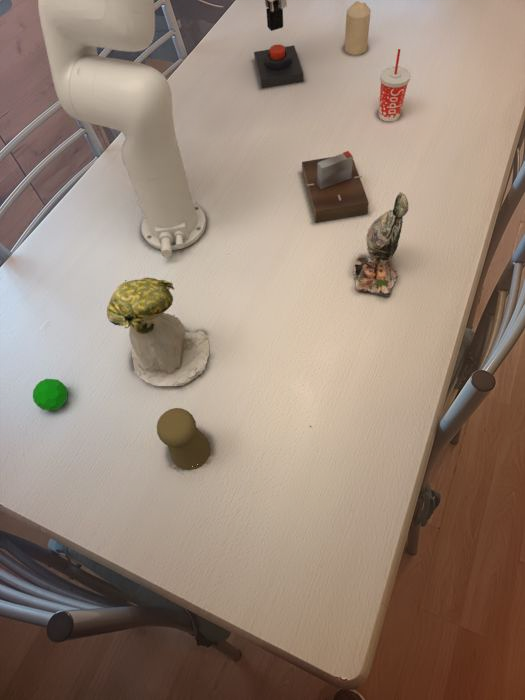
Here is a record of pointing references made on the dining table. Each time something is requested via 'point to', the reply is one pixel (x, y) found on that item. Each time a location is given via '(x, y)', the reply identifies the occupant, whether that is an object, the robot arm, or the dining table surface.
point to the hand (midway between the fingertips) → (275, 27)
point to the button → (277, 52)
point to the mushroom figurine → (157, 333)
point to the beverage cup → (392, 91)
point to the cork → (183, 439)
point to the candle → (357, 28)
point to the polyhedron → (50, 394)
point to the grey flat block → (334, 170)
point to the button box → (278, 68)
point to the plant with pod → (381, 251)
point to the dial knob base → (334, 195)
